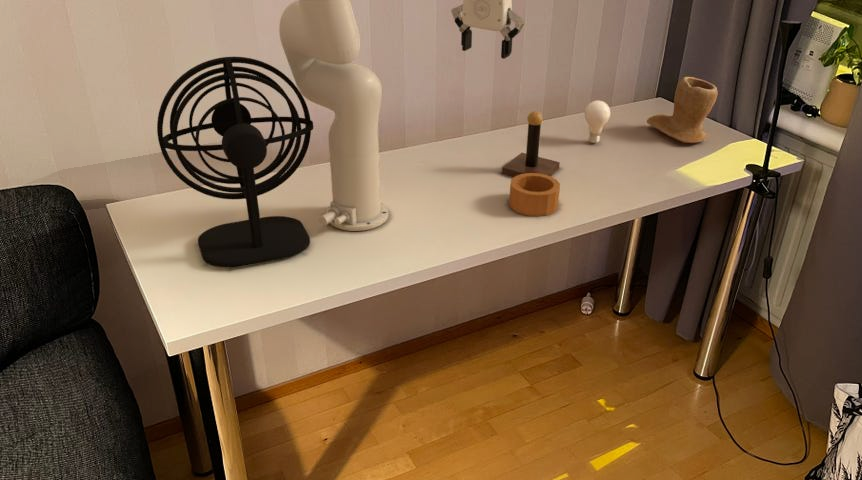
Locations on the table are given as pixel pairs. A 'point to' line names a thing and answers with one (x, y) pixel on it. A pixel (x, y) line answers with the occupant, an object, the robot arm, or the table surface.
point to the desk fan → (240, 162)
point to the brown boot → (687, 111)
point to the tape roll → (534, 194)
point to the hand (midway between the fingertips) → (485, 53)
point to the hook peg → (533, 138)
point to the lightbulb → (596, 118)
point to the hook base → (519, 167)
